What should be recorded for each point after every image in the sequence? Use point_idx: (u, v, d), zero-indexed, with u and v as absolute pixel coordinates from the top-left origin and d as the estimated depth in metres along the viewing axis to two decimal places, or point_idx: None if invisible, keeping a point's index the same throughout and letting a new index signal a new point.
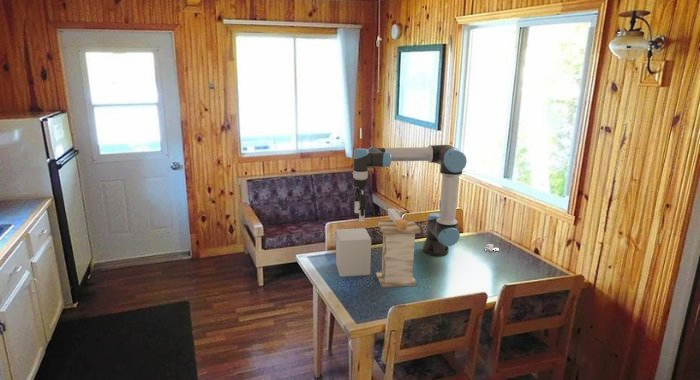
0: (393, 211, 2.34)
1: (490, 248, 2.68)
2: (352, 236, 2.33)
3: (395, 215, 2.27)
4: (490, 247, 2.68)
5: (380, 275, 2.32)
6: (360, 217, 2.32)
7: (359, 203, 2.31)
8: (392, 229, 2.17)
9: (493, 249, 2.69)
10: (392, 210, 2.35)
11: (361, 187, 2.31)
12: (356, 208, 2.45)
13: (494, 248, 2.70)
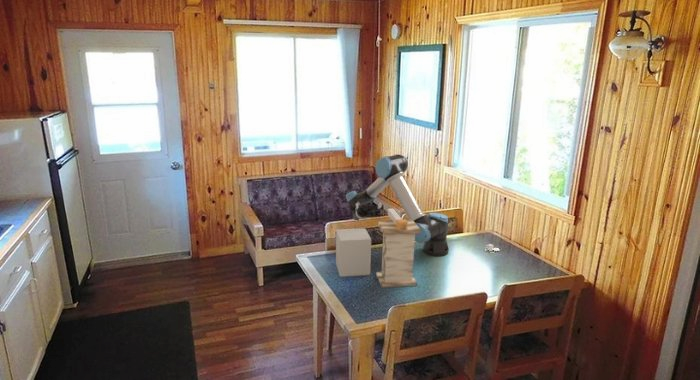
0: (393, 211, 2.34)
1: (490, 248, 2.68)
2: (352, 236, 2.33)
3: (395, 215, 2.27)
4: (490, 247, 2.68)
5: (380, 275, 2.32)
6: (356, 207, 2.59)
7: (357, 210, 2.66)
8: (392, 229, 2.17)
9: (493, 249, 2.69)
10: (392, 210, 2.35)
11: (357, 210, 2.74)
12: (379, 205, 2.61)
13: (494, 248, 2.70)
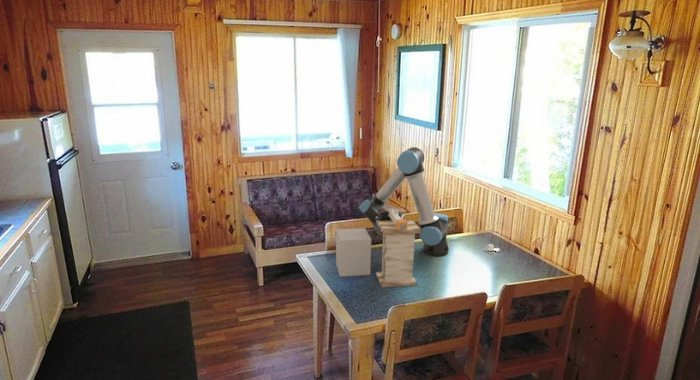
0: (393, 211, 2.34)
1: (490, 248, 2.68)
2: (352, 236, 2.33)
3: (395, 215, 2.27)
4: (490, 247, 2.67)
5: (380, 275, 2.32)
6: (389, 213, 2.31)
7: None
8: (392, 229, 2.17)
9: (494, 249, 2.69)
10: (392, 210, 2.35)
11: None
12: None
13: (495, 248, 2.70)
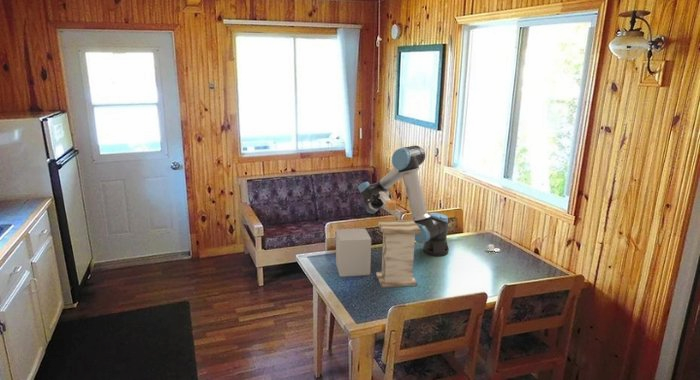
0: (383, 193, 2.50)
1: (491, 249, 2.67)
2: (352, 236, 2.33)
3: (385, 197, 2.43)
4: (491, 248, 2.67)
5: (380, 275, 2.32)
6: (380, 196, 2.47)
7: (377, 199, 2.55)
8: (392, 229, 2.17)
9: (494, 250, 2.68)
10: (383, 193, 2.51)
11: None
12: None
13: (495, 249, 2.69)
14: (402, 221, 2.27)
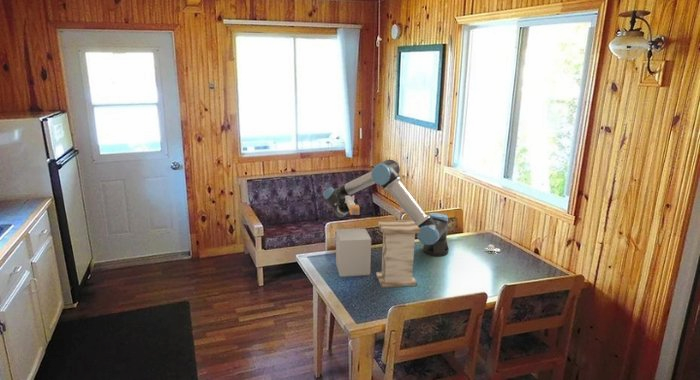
0: (349, 198, 2.47)
1: (491, 249, 2.67)
2: (352, 236, 2.33)
3: (350, 201, 2.41)
4: (491, 248, 2.67)
5: (380, 275, 2.32)
6: (345, 200, 2.45)
7: (343, 204, 2.52)
8: (392, 229, 2.17)
9: (494, 250, 2.68)
10: (349, 197, 2.48)
11: None
12: None
13: (495, 249, 2.69)
14: (402, 221, 2.27)
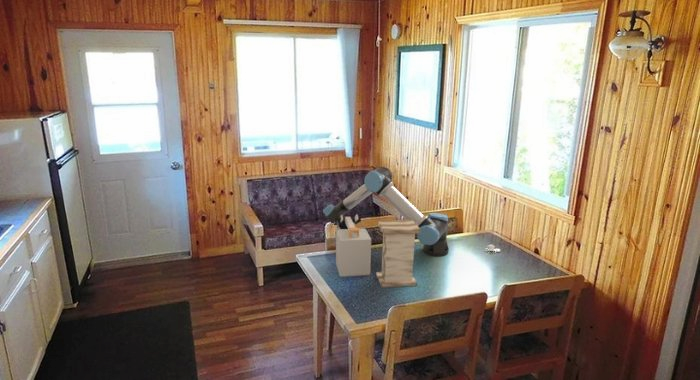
0: (349, 219, 2.50)
1: (491, 249, 2.67)
2: None
3: (350, 223, 2.44)
4: (491, 248, 2.67)
5: (380, 275, 2.32)
6: (341, 219, 2.48)
7: (340, 222, 2.55)
8: (392, 229, 2.17)
9: (494, 250, 2.68)
10: (348, 218, 2.52)
11: (337, 223, 2.64)
12: (355, 218, 2.50)
13: (495, 249, 2.69)
14: (402, 221, 2.27)
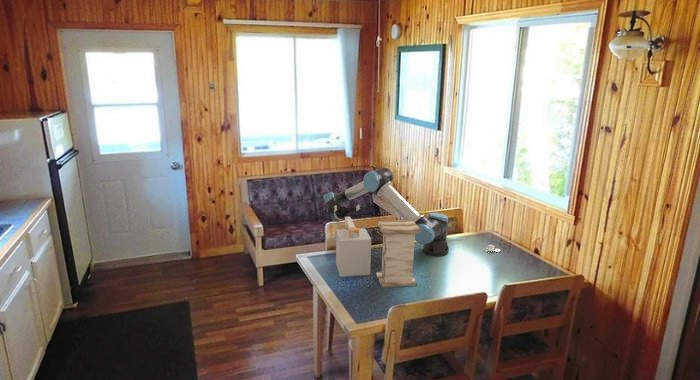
0: (349, 219, 2.50)
1: (491, 249, 2.67)
2: None
3: (350, 223, 2.44)
4: (491, 248, 2.67)
5: (380, 275, 2.32)
6: (334, 209, 2.60)
7: (335, 212, 2.67)
8: (392, 229, 2.17)
9: (494, 250, 2.68)
10: (348, 218, 2.52)
11: None
12: (357, 208, 2.64)
13: (495, 249, 2.69)
14: (402, 221, 2.27)
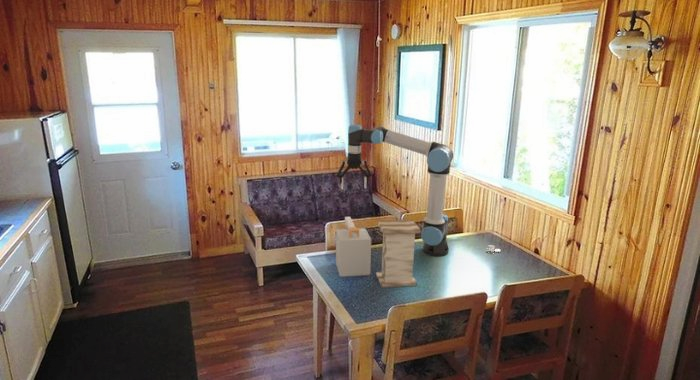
0: (349, 219, 2.50)
1: (491, 249, 2.67)
2: None
3: (350, 223, 2.44)
4: (491, 248, 2.66)
5: (380, 275, 2.32)
6: (341, 184, 2.60)
7: None
8: (392, 229, 2.17)
9: (494, 250, 2.68)
10: (348, 218, 2.52)
11: None
12: (364, 183, 2.62)
13: (496, 249, 2.69)
14: (402, 221, 2.27)
